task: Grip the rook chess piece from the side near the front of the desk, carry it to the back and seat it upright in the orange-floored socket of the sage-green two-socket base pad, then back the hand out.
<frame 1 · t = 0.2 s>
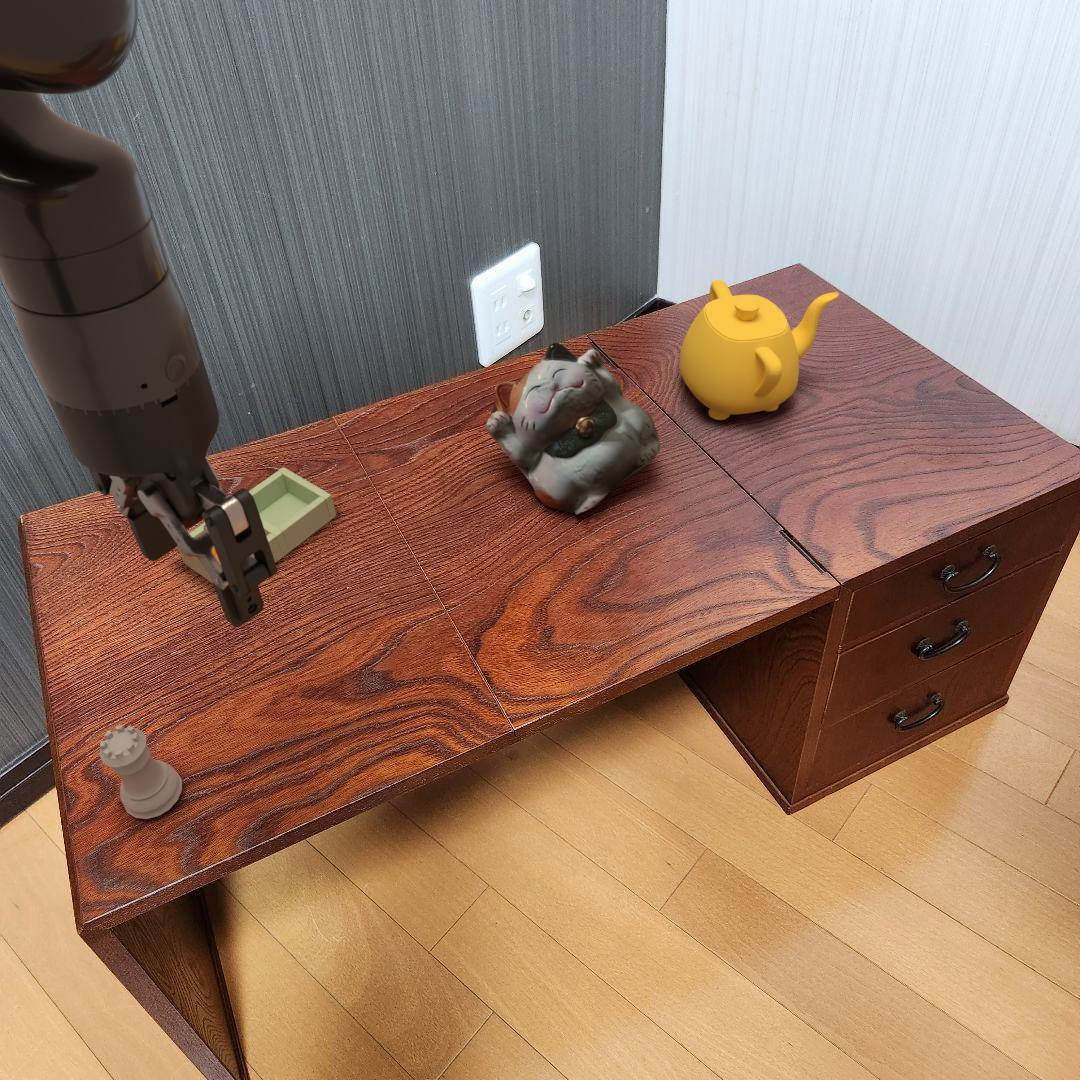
hand: (203, 583, 57), 22 cm above the table, tool pointing down, fingers open, 8 cm apart
teapot: (750, 392, 106), on the table
lucky cat figurine: (574, 473, 97), on the table
rook chess piece: (155, 796, 72), on the table
socket pad: (262, 539, 92), on the table
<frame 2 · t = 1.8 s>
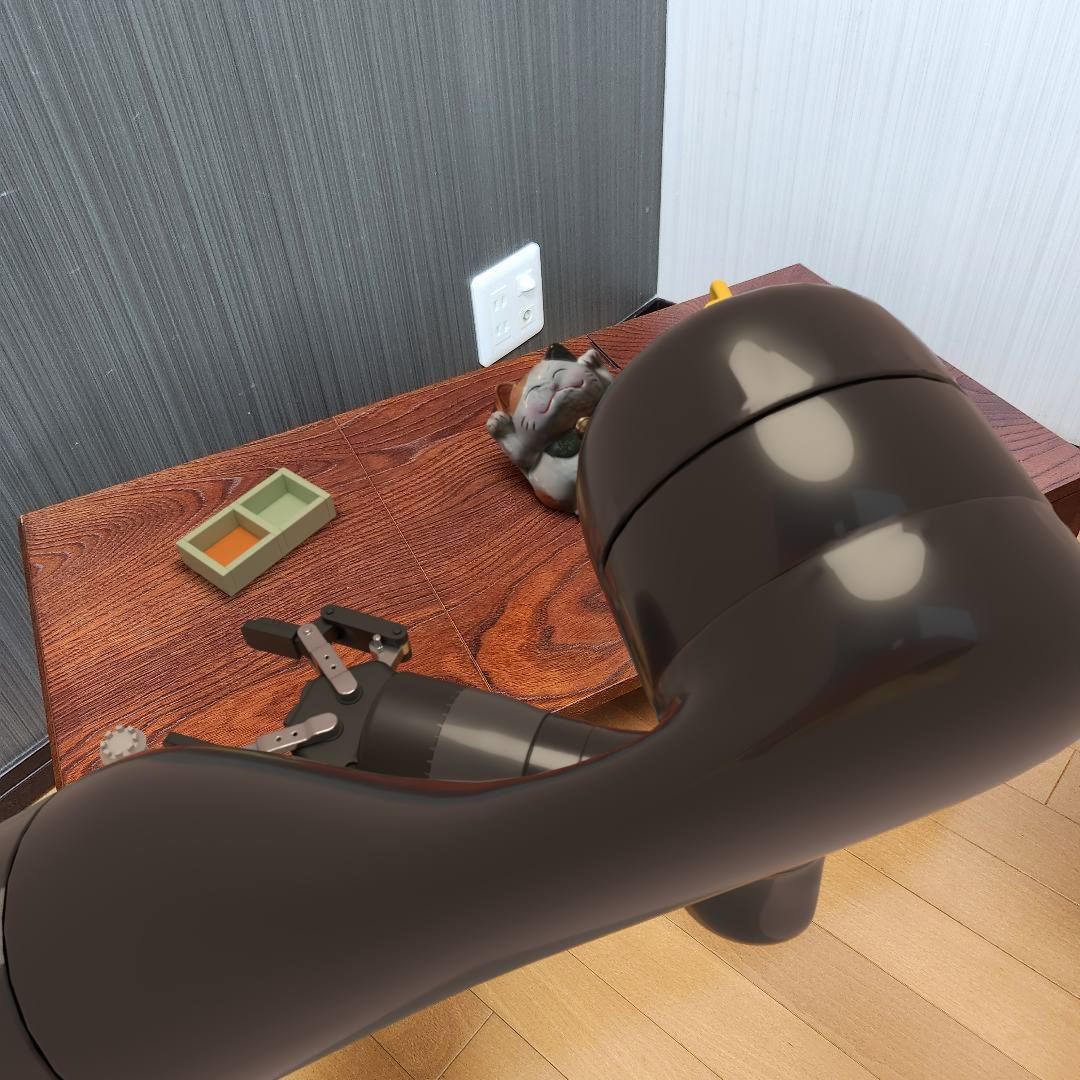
hand: (209, 686, 56), 19 cm above the table, tool horizontal, fingers open, 8 cm apart
nothing on the table moved.
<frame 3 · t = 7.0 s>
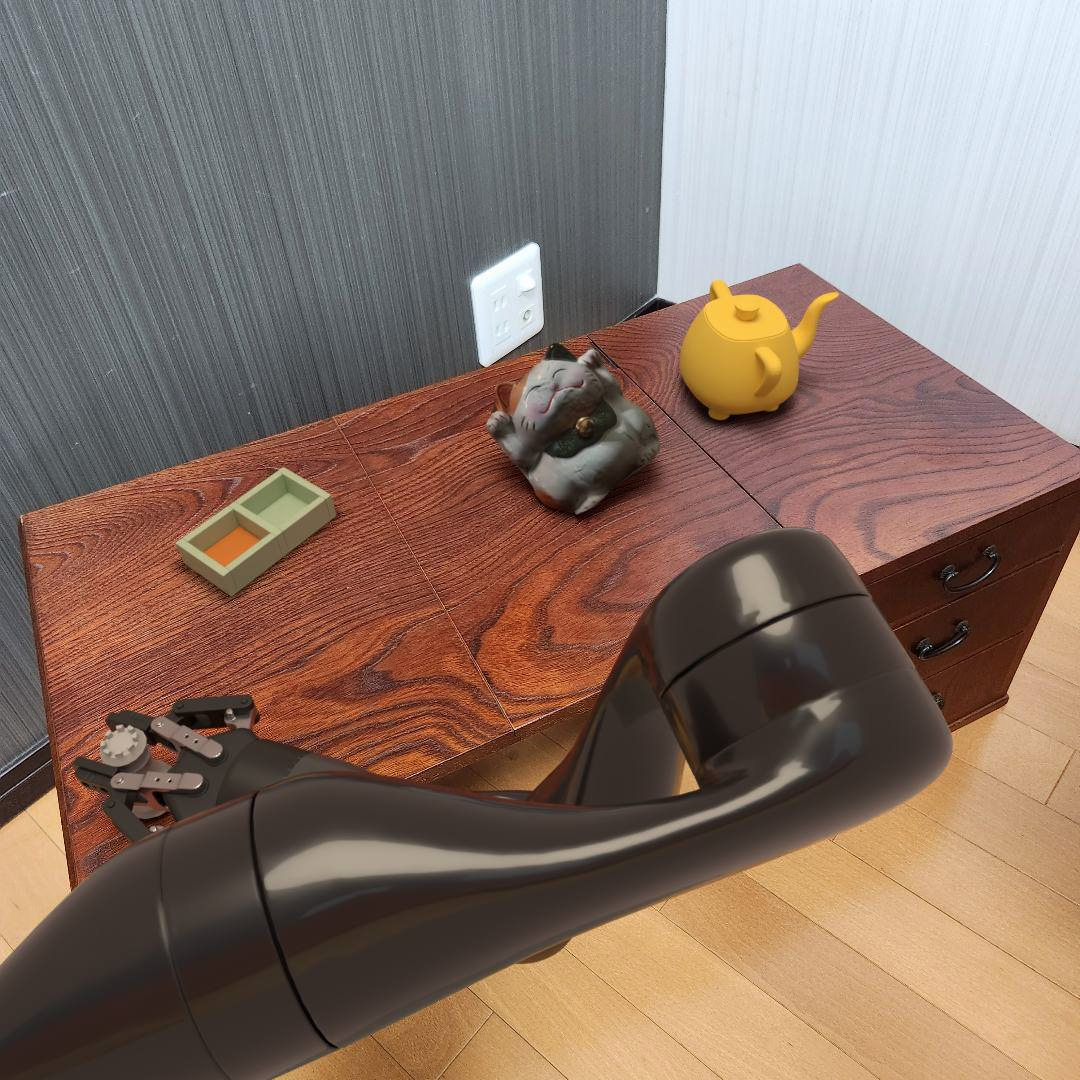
hand: (95, 744, 69), 6 cm above the table, tool horizontal, fingers closed on rook chess piece, 3 cm apart
rook chess piece: (155, 796, 72), on the table, touching gripper
everything else where it was.
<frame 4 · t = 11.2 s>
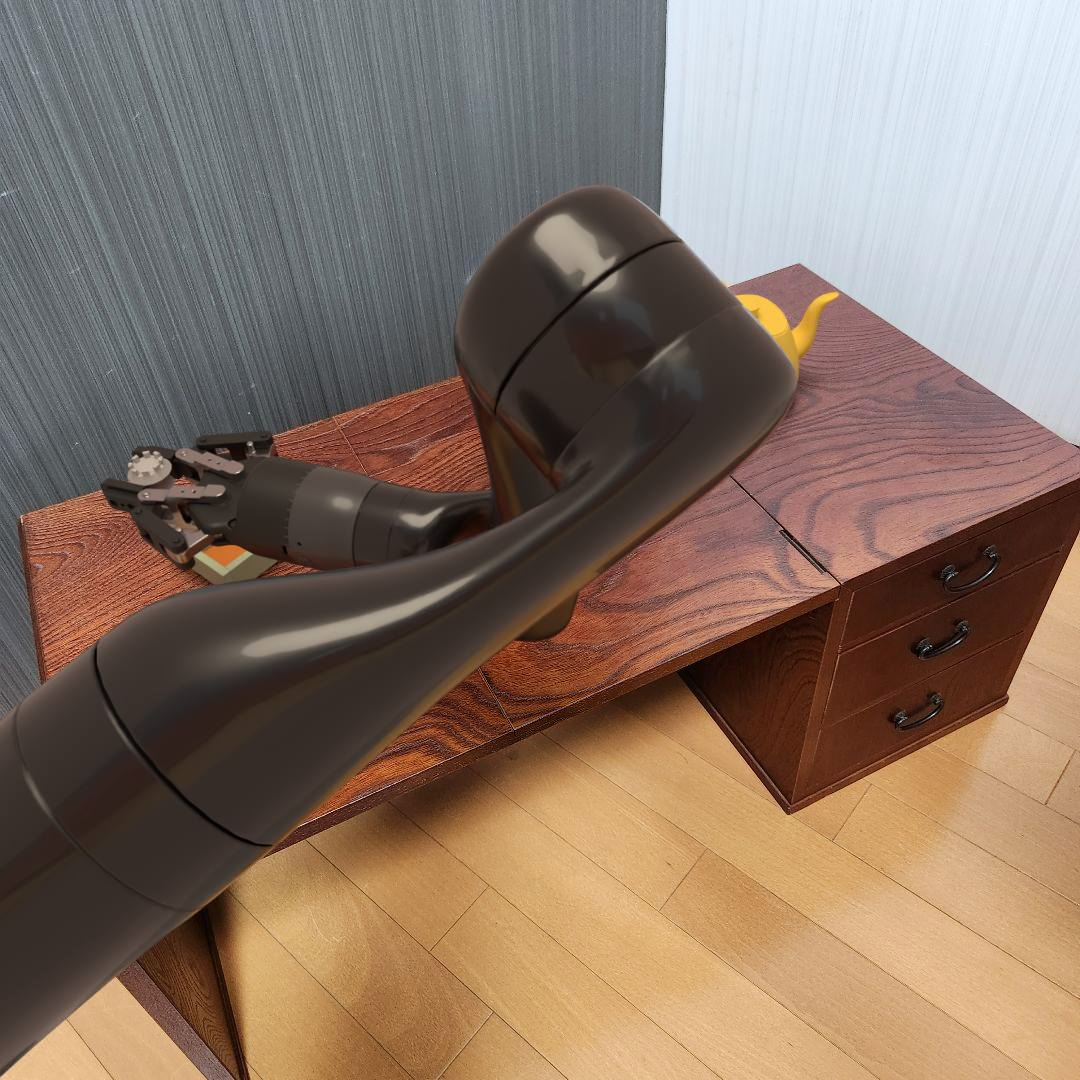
hand: (122, 474, 72), 18 cm above the table, tool horizontal, fingers closed on rook chess piece, 3 cm apart
rook chess piece: (179, 537, 76), point 11 cm above the table, touching gripper
everything else where it was.
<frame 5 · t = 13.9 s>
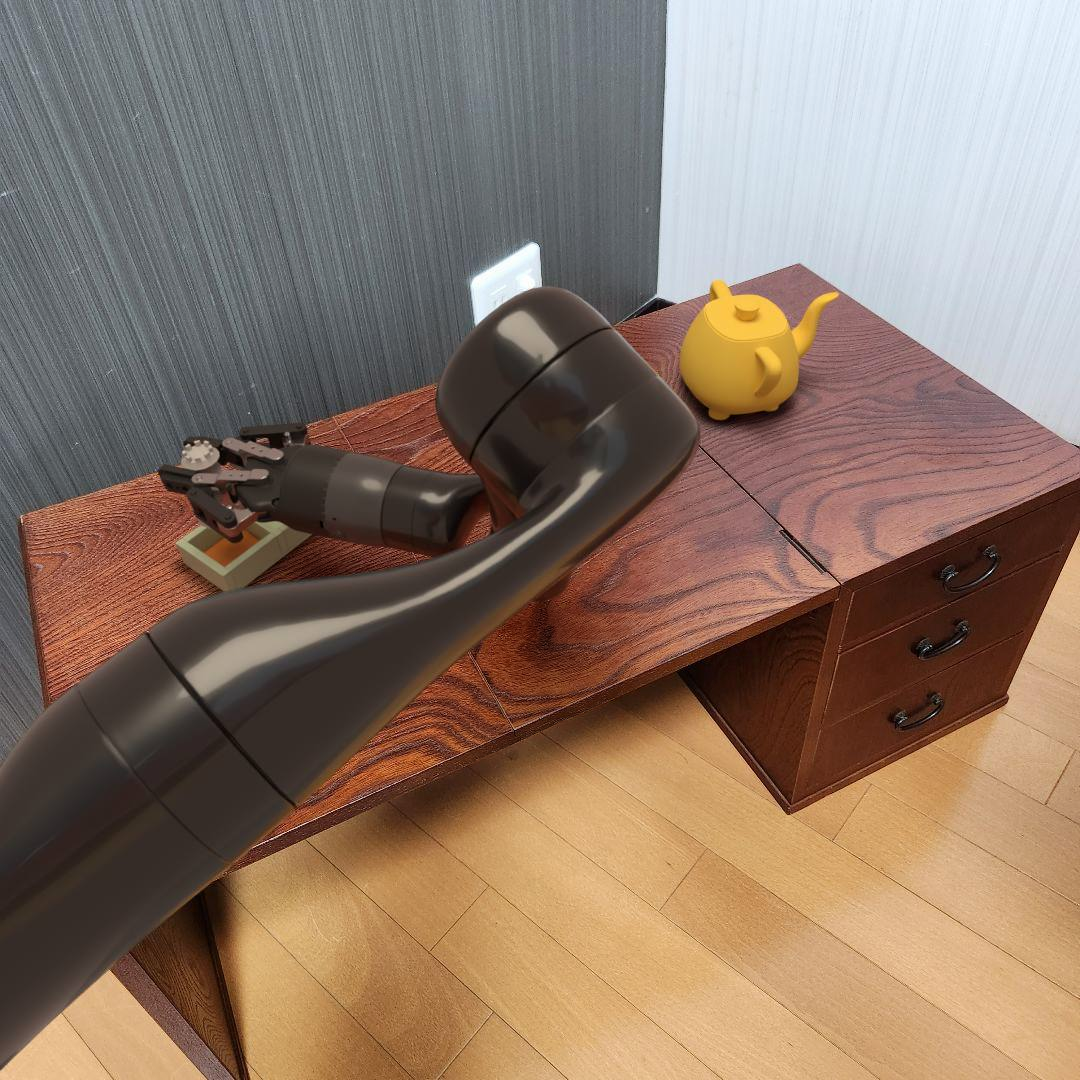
hand: (176, 461, 82), 12 cm above the table, tool horizontal, fingers closed on rook chess piece, 3 cm apart
rook chess piece: (224, 517, 86), point 5 cm above the table, touching gripper
everything else where it was.
when the fingers open (7 cm above the table, at t = 15.6 s): rook chess piece stays where it is, resting on socket pad.
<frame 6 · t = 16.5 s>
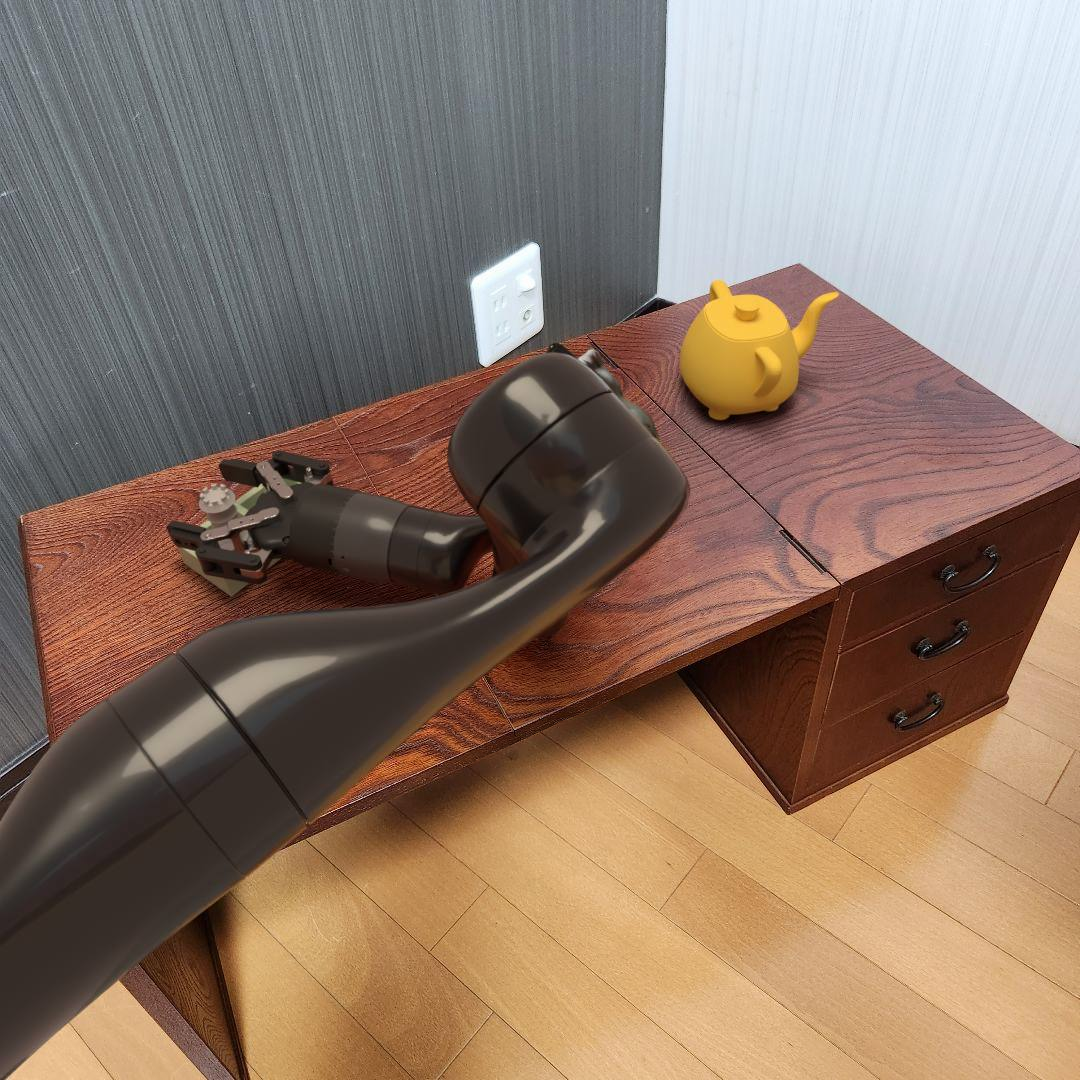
hand: (197, 499, 85), 7 cm above the table, tool horizontal, fingers open, 8 cm apart
rook chess piece: (238, 555, 90), resting on socket pad
everything else where it was.
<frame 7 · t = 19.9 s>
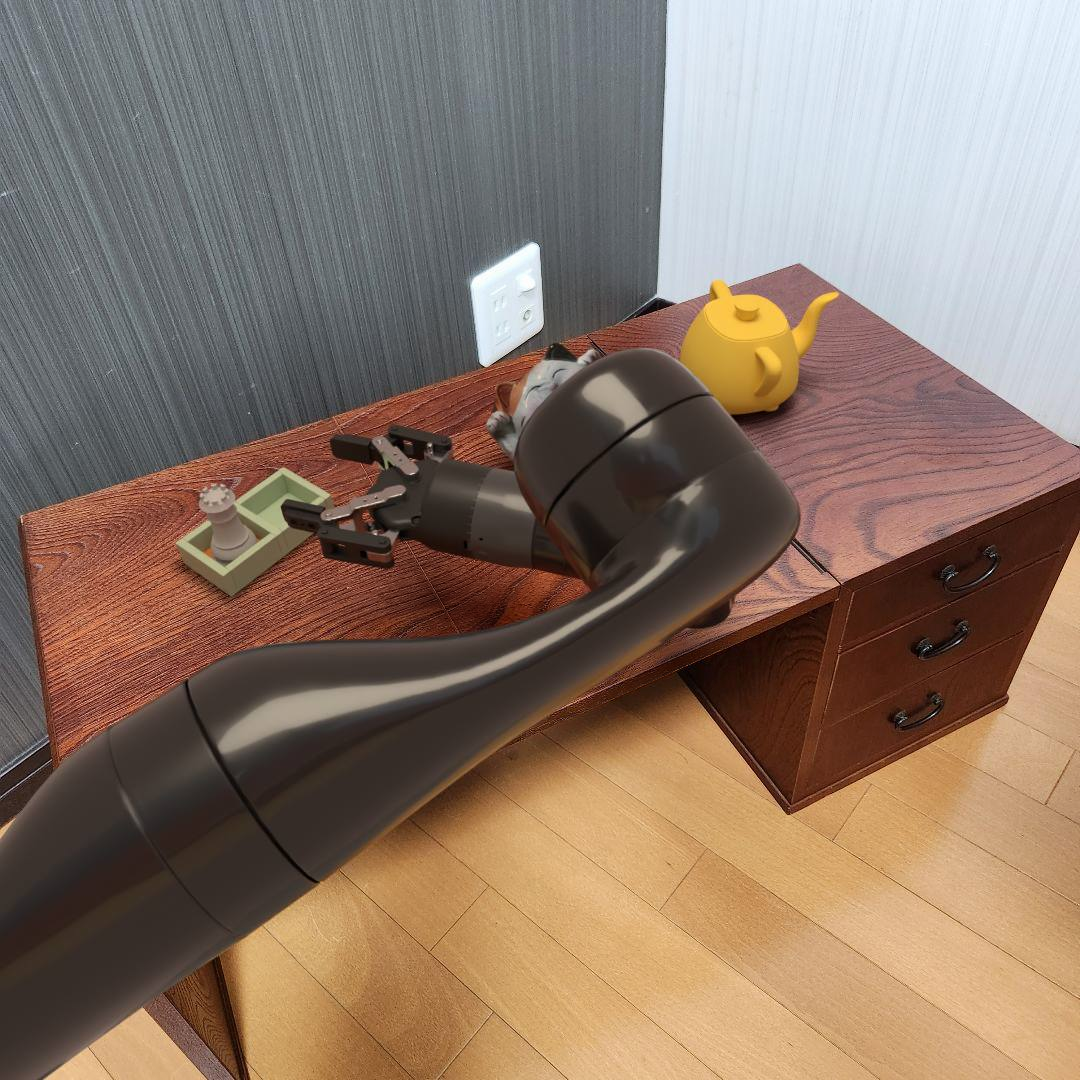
hand: (309, 476, 78), 13 cm above the table, tool horizontal, fingers open, 8 cm apart
nothing on the table moved.
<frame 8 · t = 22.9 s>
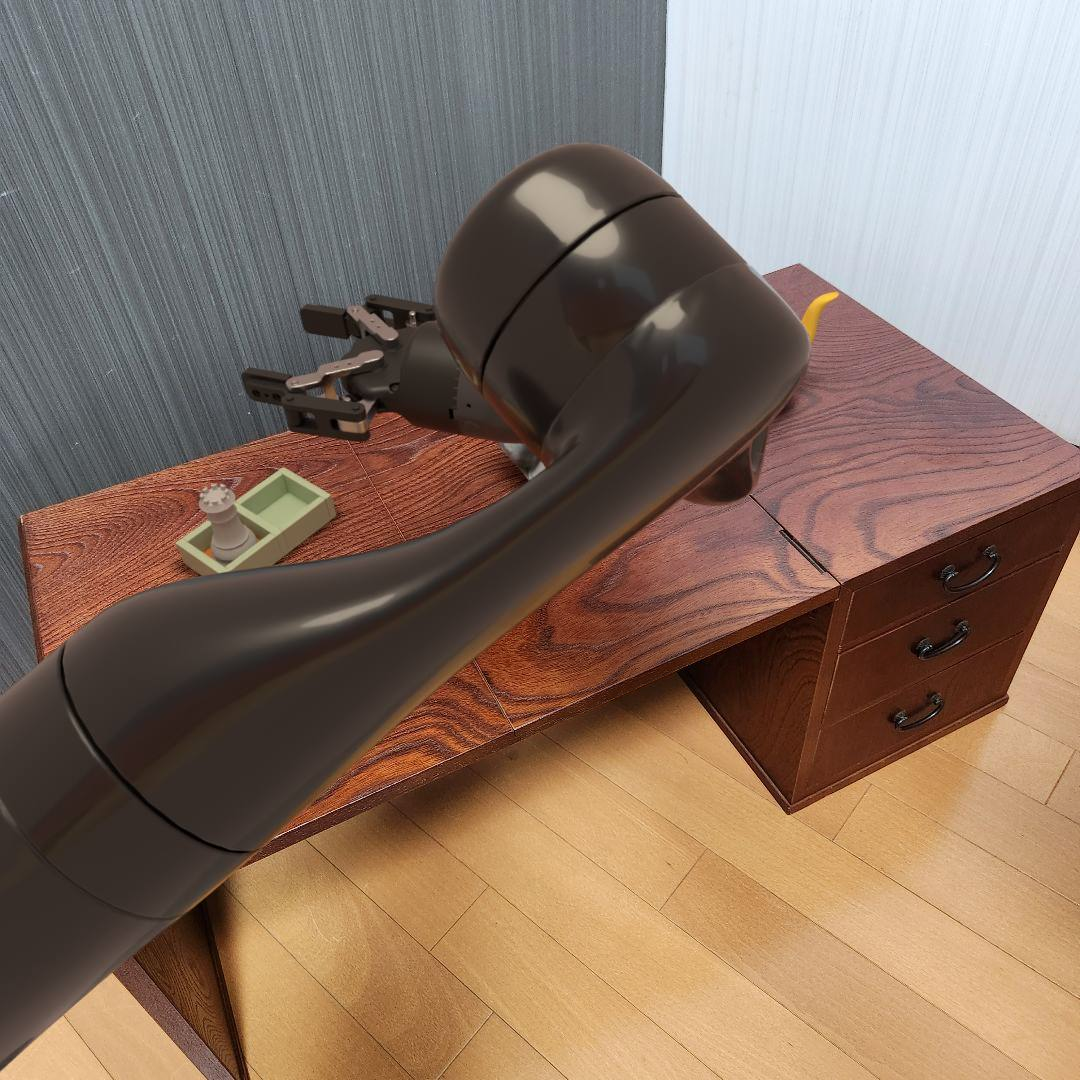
hand: (275, 348, 69), 26 cm above the table, tool horizontal, fingers open, 8 cm apart
nothing on the table moved.
at the end: rook chess piece 0.3 cm from the target spot in the socket pad, point 0.4 cm above the socket pad's base; rook chess piece tilted 0°; the gripper is holding nothing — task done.
